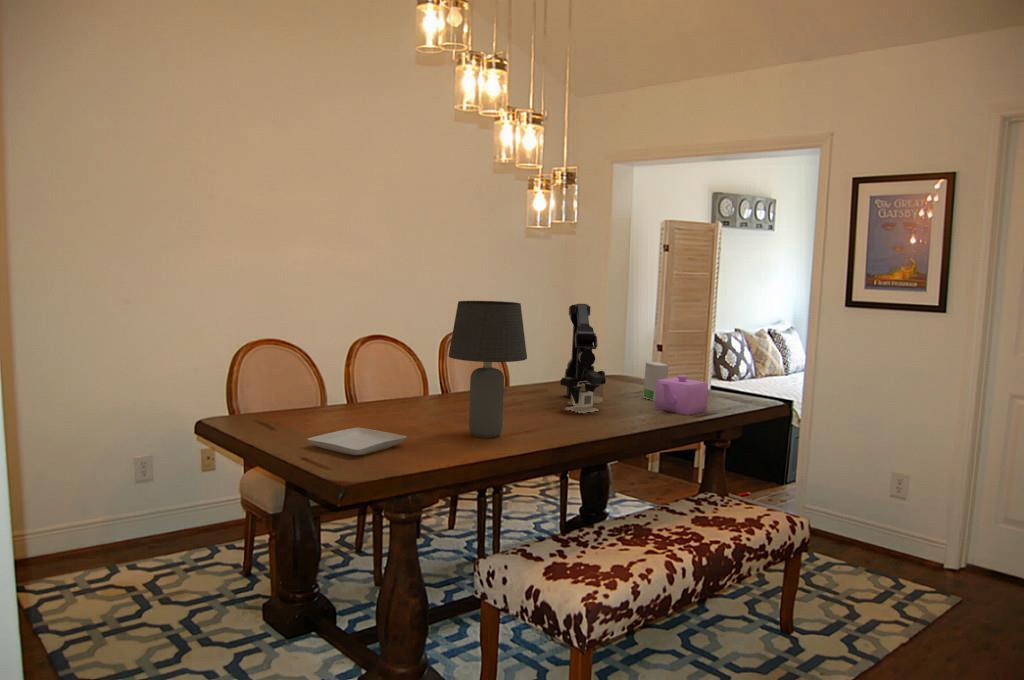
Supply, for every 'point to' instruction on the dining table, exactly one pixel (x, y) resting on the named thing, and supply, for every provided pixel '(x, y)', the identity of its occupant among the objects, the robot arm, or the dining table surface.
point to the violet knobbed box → (681, 395)
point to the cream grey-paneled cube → (584, 399)
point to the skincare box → (653, 378)
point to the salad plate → (357, 441)
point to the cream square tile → (582, 409)
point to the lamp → (487, 356)
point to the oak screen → (596, 394)
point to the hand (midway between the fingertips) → (582, 402)
